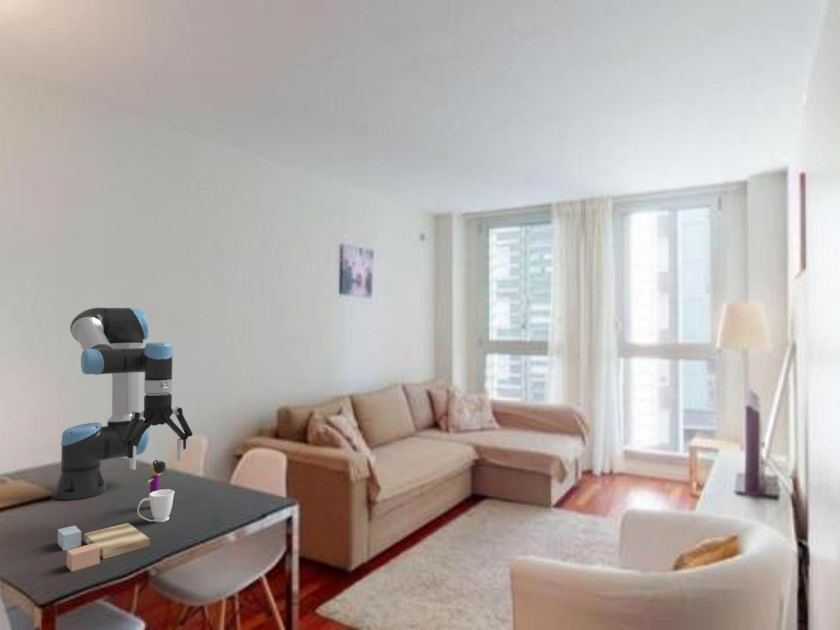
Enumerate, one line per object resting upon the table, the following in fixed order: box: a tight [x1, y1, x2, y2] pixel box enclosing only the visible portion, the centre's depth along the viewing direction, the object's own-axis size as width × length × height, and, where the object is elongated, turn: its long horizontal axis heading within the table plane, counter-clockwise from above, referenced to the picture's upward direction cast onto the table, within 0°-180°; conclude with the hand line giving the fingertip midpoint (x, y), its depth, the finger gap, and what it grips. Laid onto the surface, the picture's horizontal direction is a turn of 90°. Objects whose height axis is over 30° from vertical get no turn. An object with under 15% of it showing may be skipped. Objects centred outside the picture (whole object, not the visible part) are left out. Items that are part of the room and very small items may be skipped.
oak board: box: [83, 522, 151, 560], centre depth 145 cm, size 16×11×2 cm
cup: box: [136, 489, 175, 523], centre depth 162 cm, size 7×10×8 cm
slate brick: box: [57, 525, 82, 551], centre depth 144 cm, size 6×4×4 cm, turn 46°
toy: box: [147, 459, 167, 509], centre depth 174 cm, size 10×6×15 cm, turn 5°
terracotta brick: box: [66, 543, 101, 572], centre depth 133 cm, size 6×4×4 cm, turn 138°
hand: (157, 464), depth 163 cm, fingers open, 13 cm apart
